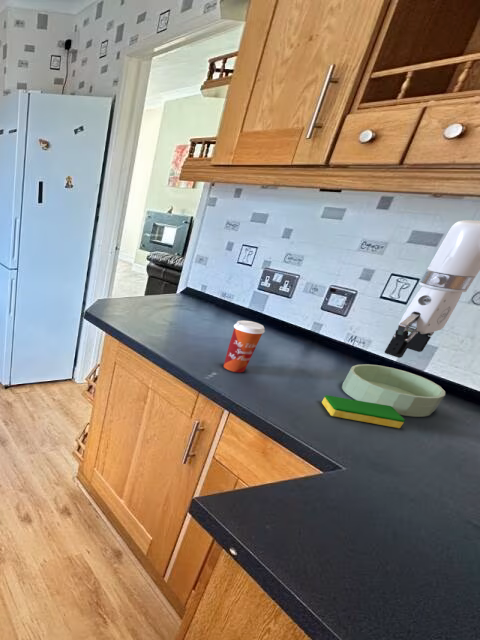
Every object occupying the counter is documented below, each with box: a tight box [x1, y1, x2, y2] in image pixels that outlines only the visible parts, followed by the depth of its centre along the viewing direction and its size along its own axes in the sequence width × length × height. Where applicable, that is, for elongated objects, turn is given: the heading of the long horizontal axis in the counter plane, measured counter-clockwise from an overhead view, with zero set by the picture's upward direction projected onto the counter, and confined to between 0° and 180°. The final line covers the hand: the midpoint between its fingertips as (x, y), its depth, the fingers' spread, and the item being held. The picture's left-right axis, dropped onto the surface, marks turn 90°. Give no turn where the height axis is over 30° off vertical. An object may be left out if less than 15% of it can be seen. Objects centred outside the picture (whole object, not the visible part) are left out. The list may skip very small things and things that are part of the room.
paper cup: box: [223, 320, 266, 373], centre depth 121 cm, size 8×8×14 cm
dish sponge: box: [321, 394, 406, 429], centre depth 102 cm, size 7×14×2 cm, turn 69°
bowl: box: [341, 363, 446, 418], centre depth 109 cm, size 18×18×6 cm
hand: (402, 352), depth 99 cm, fingers open, 8 cm apart
